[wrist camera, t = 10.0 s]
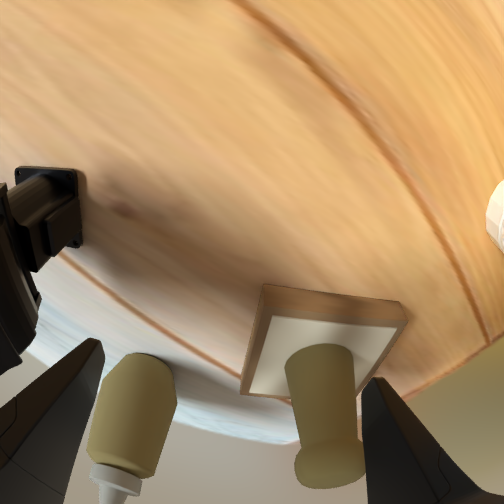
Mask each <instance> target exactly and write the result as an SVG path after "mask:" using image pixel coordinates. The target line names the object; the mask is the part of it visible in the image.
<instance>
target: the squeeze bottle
mask: <svg viewBox="0 0 504 504" xmlns="http://www.w3.org/2000/svg"><path fill="white" fill-rule="evenodd" d="M176 406H177V398H176V392H175V385H174V378H173V374H172V372H171V369H170V368H169V367H168V366H167V365H166V364H165V363H163V362H162V361H160V360H158V359H156V358H155V357H152V356H149V355H145V354H139V353H132V354H128V355H126V356H125V357H124V358H123V359H122V360H121V361H120V362H119V363H118V364H117V365H116V366H115V367H114V368H113V369H112V370H111V371H110V372H109V373H108V374H107V376H106V377H105V378H104V379H103V381H102V384H101V388H100V392H99V396H98V400H97V404H96V408H95V412H94V417H93V421H92V425H91V429H90V434H89V439H88V444H87V449H86V451H87V453H88V454H89V456H90V458H91V459H92V460H93V461H94V462H96V463H97V464H93V465H92V469H91V472H90V476H89V478H90V480H91V481H93V482H94V483H96V484H98V485H99V504H124V502H125V500H126V498H127V496H128V495H130V496H139V495H140V491H141V485H142V480H141V479H145V478H149V477H152V476H154V473H155V470H156V467H157V464H158V461H159V458H160V455H161V452H162V449H163V446H164V443H165V440H166V437H167V433H168V431H169V427H170V425H171V422H172V419H173V416H174V413H175V410H176Z"/></svg>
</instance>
